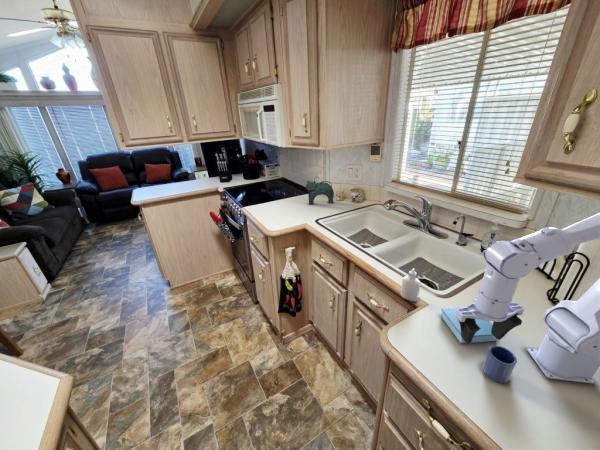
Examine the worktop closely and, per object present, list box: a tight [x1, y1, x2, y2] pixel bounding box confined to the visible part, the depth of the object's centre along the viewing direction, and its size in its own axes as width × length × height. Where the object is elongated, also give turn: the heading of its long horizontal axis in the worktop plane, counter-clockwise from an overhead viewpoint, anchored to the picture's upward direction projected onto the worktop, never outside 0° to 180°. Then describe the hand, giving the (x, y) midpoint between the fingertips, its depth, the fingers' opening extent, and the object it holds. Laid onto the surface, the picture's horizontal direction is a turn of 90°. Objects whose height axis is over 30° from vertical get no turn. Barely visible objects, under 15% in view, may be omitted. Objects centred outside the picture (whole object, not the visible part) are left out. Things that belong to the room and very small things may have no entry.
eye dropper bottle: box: [400, 268, 421, 302], centre depth 85 cm, size 4×6×12 cm
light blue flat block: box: [441, 306, 498, 344], centre depth 74 cm, size 11×11×3 cm
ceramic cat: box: [305, 176, 335, 206], centre depth 178 cm, size 20×6×20 cm, turn 90°
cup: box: [482, 345, 518, 384], centre depth 60 cm, size 5×5×6 cm
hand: (480, 338), depth 60 cm, fingers open, 7 cm apart
